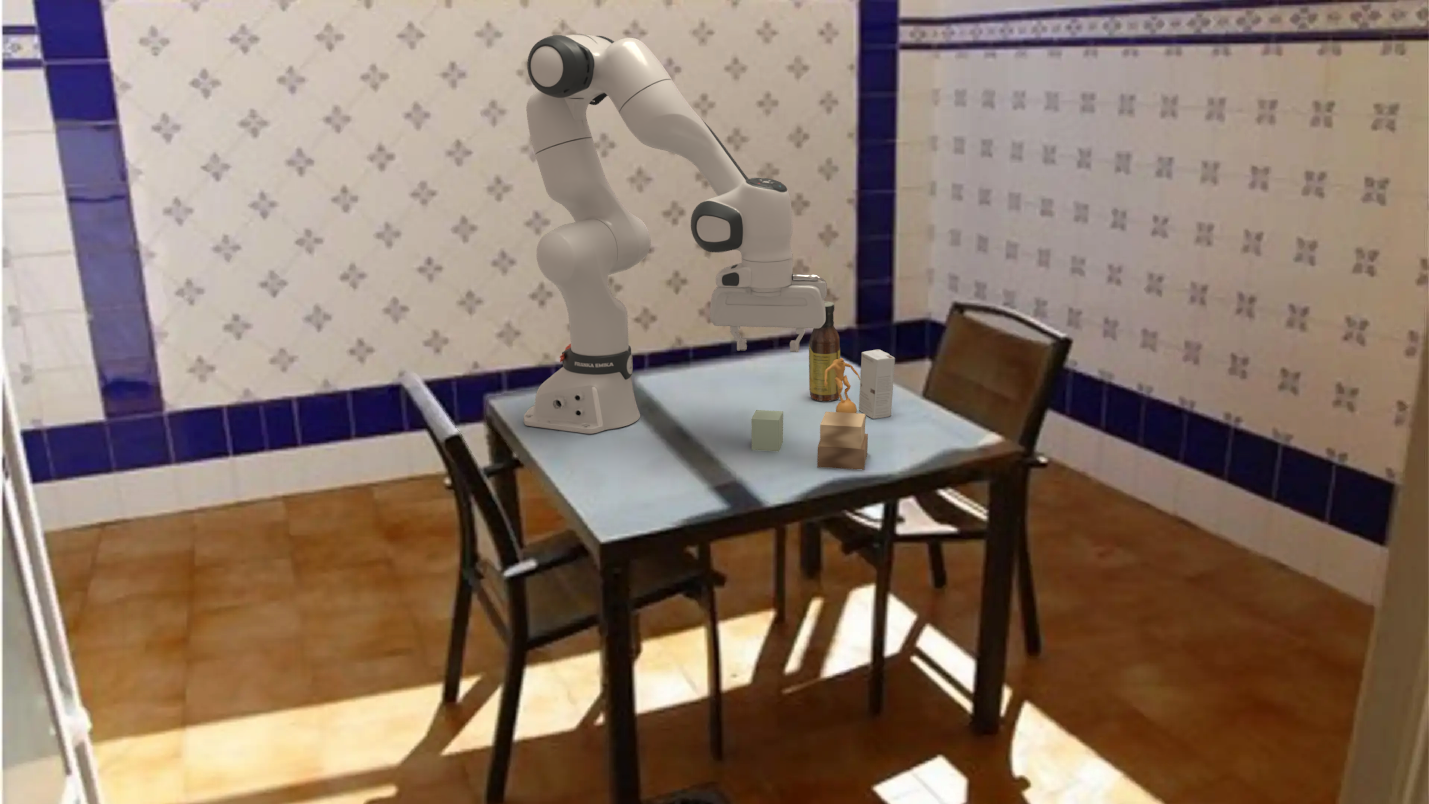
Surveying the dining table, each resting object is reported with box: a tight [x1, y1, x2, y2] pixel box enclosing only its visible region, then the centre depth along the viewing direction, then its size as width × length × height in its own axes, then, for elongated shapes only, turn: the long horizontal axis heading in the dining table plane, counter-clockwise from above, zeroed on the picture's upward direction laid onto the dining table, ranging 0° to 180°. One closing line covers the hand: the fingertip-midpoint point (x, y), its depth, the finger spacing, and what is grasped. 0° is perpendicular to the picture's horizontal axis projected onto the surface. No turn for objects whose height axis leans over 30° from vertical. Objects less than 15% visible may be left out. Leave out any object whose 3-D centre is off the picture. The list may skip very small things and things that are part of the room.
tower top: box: [819, 411, 866, 449], centre depth 206 cm, size 7×7×4 cm
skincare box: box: [858, 349, 896, 419], centre depth 230 cm, size 6×4×12 cm
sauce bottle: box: [808, 300, 841, 403], centre depth 238 cm, size 7×6×20 cm
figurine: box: [824, 357, 860, 413], centre depth 227 cm, size 8×6×12 cm
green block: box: [750, 409, 784, 452], centre depth 215 cm, size 5×5×6 cm
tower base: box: [816, 433, 869, 471], centre depth 208 cm, size 8×8×4 cm
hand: (768, 350), depth 210 cm, fingers open, 8 cm apart
